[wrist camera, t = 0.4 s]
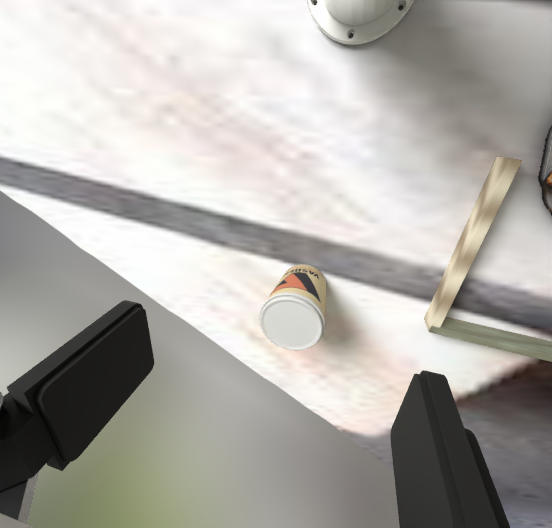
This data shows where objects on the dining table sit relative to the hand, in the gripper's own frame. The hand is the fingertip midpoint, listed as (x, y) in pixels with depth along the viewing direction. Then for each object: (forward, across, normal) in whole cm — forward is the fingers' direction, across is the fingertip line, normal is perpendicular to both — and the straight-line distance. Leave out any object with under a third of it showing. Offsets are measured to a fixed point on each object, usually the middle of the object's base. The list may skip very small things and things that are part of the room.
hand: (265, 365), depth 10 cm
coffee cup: (+36, +2, +18) cm, 40 cm away
